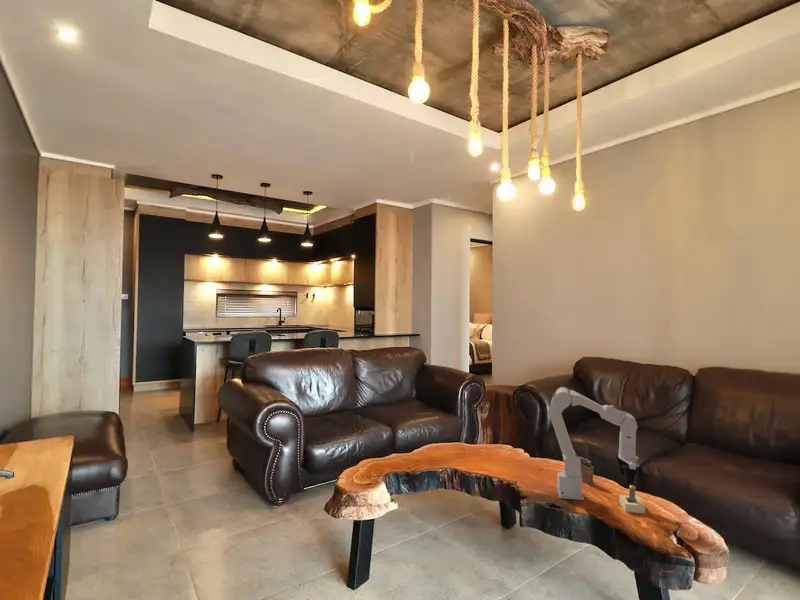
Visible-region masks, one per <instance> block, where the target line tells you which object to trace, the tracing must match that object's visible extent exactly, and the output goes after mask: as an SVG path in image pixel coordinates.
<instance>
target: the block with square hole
mask: <svg viewBox="0 0 800 600" xmlns="http://www.w3.org/2000/svg"><path fill="white" fill-rule="evenodd" d="M620 503H621V504H620ZM619 504H620V505H621V507H622V509H623V510H624V512H626V513H635V514H636V513H637V514H638V513H639V514H646V505H645V503H644V502H643V500H642V499H641V498H640V496H638V495H637V496H636V495H635V503H630V502H629V495H625V494H619Z"/></svg>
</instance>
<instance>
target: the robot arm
mask: <svg viewBox="0 0 800 600" xmlns="http://www.w3.org/2000/svg"><path fill="white" fill-rule="evenodd" d="M570 405H571V406H572V407H575V406H582V407H584V408H586V409H589V410H591V411H593V412H596V413H598V414H599V416H600V418H601V419H603V420H605V421H607V422H609V423H611V424H612V425H616V426H617V427H620V429H619V430H620V431H619V437H618V438H619V441H618V442H619V444H618V446H619V447H618V455H617V454H616V455H615V456H614V457H615V458H616V461H617V464H618V469H619V474H620V476H624V477H625V478H624V479H625V483H626V485H633V484H634V482H635V479H636V476H637V474H638V473H639V472H640V468H639V467H638V466H637V464H636V461H639V459H640V458H639V457H638V456H636V449H637V446H636V445H637V444H636V443H637V435H636V434H637V430H638V427H639V426H638V423H637V420H636V417H634V416H633V415H632V414H631V413H630V412H626V411H621V410H620V409H619V410H618V409H617V408H615V406H614V405H612V404H610V405H609V404H605V405H601V404H600V403H598V402H596V401H594V400H592V399H590V398H588V397H587V396H584V395H583V394H581V393H579V392H577V391H575V390H573V389H569V388H568V387H565V386H561V387H559V388H557V389H555V391H554V393H553V394H552V397H551V401H550V405H549V407H548V415H549V418H550V421H551V424H552V427H553V429H554V433H555V435H556V439H557V441H558V442H557V443H558V445H559V448H560V451H561V454H562V459H563V463H564V465H563V466H564V467H563V470H562V472H561V471H560V472H557V473H556V474H557V475H556V490H557V494H558V497H559V498H560V499H567V500H579V501H584V500H585V497H584V495H583V493H582V488H583V487H582V486H583V482H582V473H581V468H580V464H581V461H580V458H579V457H580V456H578V454H577V453H576V451H575V450H574V447H573V444H572V441H571V438H570V435H569V433H568V430H567V426H566V424H565V421H564V418H563V415H562V413H563V412H564V410H565V409H566V408H568V407H569V406H570Z"/></svg>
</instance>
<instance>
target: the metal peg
mask: <svg viewBox="0 0 800 600" xmlns="http://www.w3.org/2000/svg"><path fill="white" fill-rule="evenodd" d="M628 485H629V490H628V491H629V493H628V496H629V502H630V503H635V496H636V486H635V485H633V484H628Z"/></svg>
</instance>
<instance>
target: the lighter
mask: <svg viewBox="0 0 800 600" xmlns="http://www.w3.org/2000/svg"><path fill="white" fill-rule="evenodd" d="M578 457H579V458H580V461H581V464H580V468H581V473H582V483H584V484H586V483H587V485H590V486H593V485H594V469H595V467H594V466H593V465H592V461H591V460H589V459H588V458H584V457H582V456H578Z"/></svg>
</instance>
